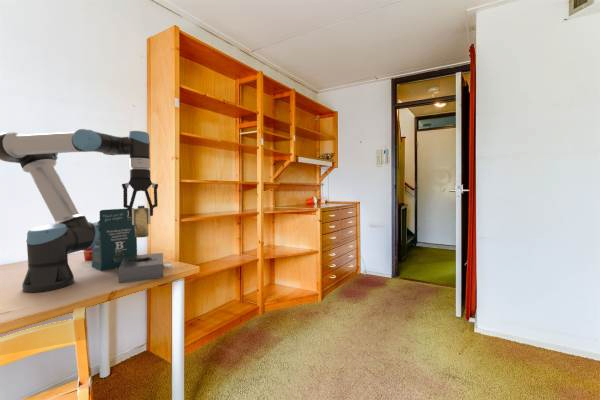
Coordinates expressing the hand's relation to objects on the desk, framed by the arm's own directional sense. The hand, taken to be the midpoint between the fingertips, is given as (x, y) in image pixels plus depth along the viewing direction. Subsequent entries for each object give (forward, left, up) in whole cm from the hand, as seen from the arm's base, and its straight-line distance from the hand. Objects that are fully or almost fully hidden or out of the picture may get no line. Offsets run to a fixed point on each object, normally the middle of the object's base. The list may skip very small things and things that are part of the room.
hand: (141, 224), depth 122 cm
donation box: (-14, +28, -23) cm, 39 cm away
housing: (0, +6, -23) cm, 24 cm away
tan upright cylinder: (0, 0, -5) cm, 5 cm away
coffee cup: (-26, +45, -23) cm, 57 cm away
